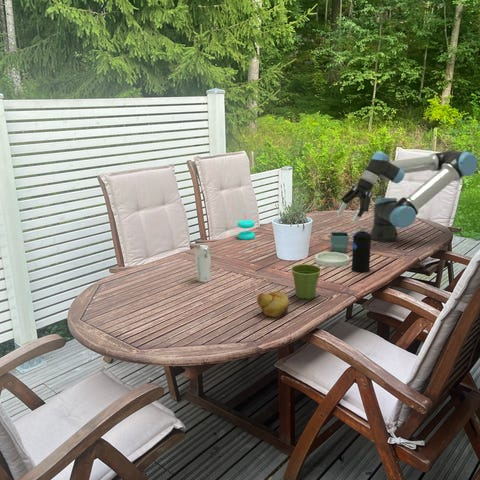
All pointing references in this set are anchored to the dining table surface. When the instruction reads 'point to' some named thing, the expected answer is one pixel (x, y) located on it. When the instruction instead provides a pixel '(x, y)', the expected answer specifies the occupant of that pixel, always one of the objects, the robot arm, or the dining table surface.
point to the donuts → (246, 224)
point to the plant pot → (305, 280)
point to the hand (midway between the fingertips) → (346, 218)
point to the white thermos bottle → (203, 262)
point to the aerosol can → (361, 251)
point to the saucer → (332, 259)
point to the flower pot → (339, 241)
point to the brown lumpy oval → (273, 303)
